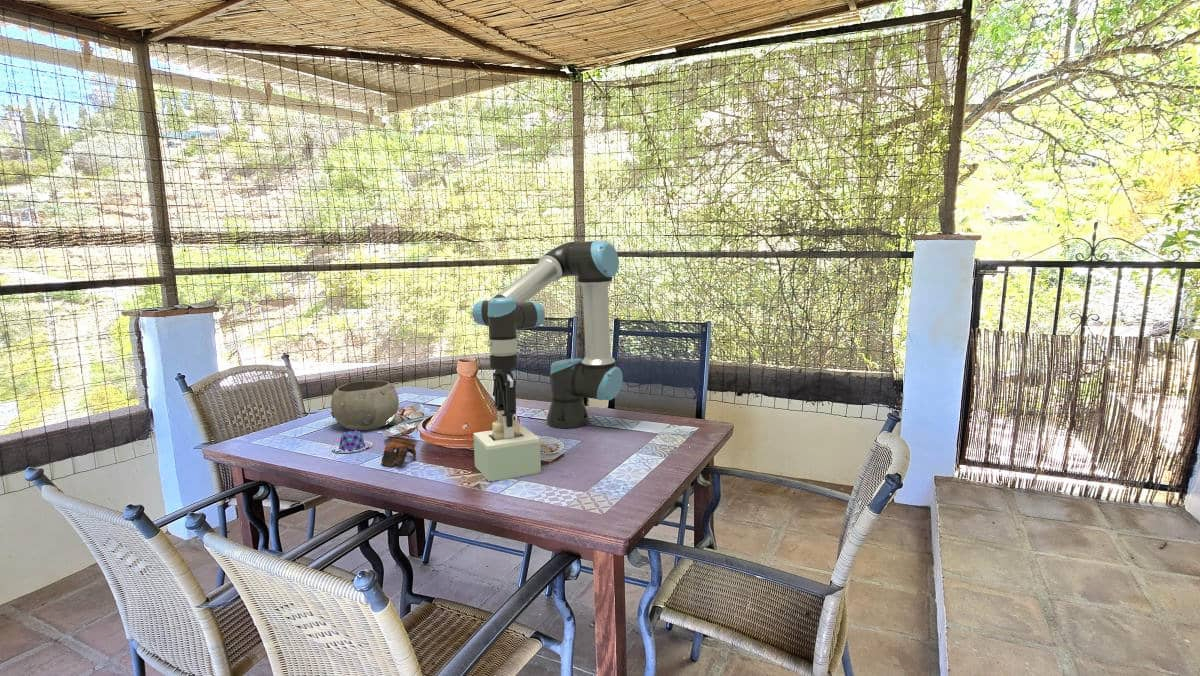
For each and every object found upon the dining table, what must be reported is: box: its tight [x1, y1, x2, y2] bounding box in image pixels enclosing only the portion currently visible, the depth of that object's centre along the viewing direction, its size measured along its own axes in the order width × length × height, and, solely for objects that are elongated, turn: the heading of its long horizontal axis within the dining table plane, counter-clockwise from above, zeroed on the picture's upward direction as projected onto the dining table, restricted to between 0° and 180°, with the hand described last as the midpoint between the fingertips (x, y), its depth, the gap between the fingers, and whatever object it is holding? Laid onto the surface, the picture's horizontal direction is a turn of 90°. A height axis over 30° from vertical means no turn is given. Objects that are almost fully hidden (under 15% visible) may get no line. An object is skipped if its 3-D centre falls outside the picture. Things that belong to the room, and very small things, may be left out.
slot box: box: [472, 425, 542, 483], centre depth 173 cm, size 15×14×10 cm
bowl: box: [330, 379, 400, 431], centre depth 220 cm, size 23×23×15 cm
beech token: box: [491, 419, 521, 440], centre depth 172 cm, size 7×4×4 cm, turn 109°
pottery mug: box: [381, 438, 417, 467], centre depth 180 cm, size 12×10×8 cm
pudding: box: [331, 430, 373, 454], centre depth 195 cm, size 12×12×5 cm
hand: (506, 435), depth 172 cm, fingers closed on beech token, 4 cm apart
